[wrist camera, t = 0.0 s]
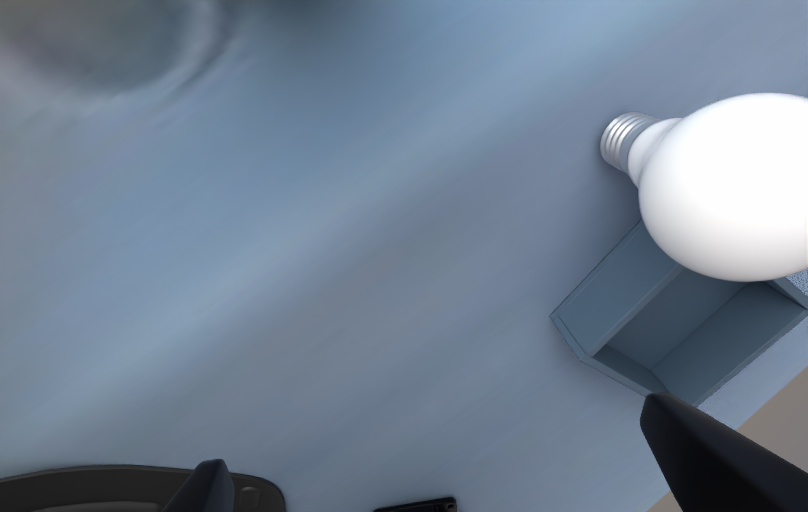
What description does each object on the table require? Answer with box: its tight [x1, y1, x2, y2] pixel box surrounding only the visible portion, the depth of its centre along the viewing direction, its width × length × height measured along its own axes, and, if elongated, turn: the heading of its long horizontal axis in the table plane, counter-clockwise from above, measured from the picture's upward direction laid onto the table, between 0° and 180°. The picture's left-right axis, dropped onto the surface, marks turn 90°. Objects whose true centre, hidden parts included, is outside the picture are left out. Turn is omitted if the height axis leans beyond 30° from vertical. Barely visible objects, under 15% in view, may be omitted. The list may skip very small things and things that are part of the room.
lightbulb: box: [600, 93, 808, 282], centre depth 17 cm, size 6×6×11 cm
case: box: [549, 219, 808, 408], centre depth 26 cm, size 10×10×4 cm
